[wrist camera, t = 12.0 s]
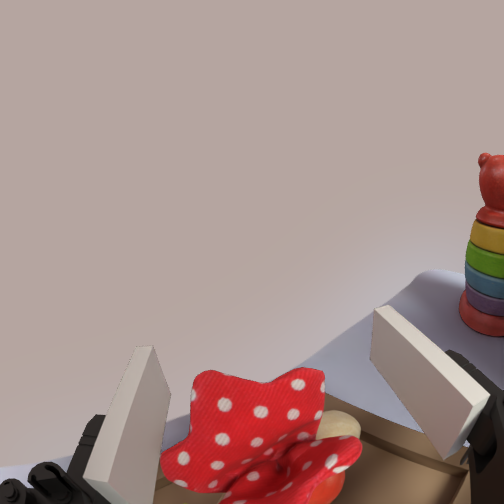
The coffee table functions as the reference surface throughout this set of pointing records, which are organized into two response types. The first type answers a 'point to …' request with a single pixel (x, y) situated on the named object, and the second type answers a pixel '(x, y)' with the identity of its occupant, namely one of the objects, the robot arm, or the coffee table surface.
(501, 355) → the coffee table surface
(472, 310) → the stacking bear
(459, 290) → the coffee table surface
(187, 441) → the bird rattle
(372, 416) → the walnut plate
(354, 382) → the coffee table surface
